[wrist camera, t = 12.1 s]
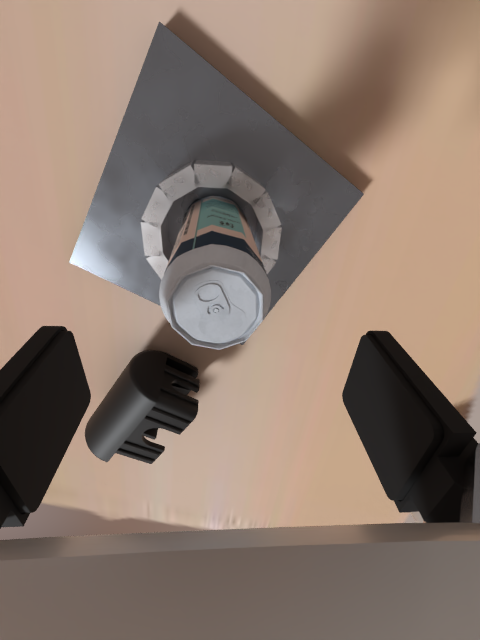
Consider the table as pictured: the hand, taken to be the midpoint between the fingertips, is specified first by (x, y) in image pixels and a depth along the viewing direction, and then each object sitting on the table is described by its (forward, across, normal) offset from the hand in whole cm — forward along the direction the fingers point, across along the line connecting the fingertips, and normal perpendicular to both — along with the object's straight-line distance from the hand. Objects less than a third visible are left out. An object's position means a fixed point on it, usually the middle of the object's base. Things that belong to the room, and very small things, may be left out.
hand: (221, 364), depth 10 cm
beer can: (+15, 0, -1) cm, 15 cm away
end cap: (+16, +7, +16) cm, 24 cm away
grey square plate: (+16, +1, -1) cm, 16 cm away
